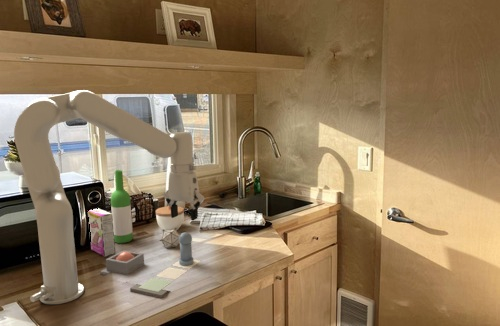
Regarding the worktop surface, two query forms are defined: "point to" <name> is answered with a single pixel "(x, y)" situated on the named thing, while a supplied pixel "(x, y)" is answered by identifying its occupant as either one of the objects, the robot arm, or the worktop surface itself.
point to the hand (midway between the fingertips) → (184, 217)
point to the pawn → (185, 249)
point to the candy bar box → (101, 232)
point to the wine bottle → (121, 211)
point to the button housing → (123, 263)
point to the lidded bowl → (169, 218)
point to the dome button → (124, 256)
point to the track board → (161, 281)
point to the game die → (170, 238)
